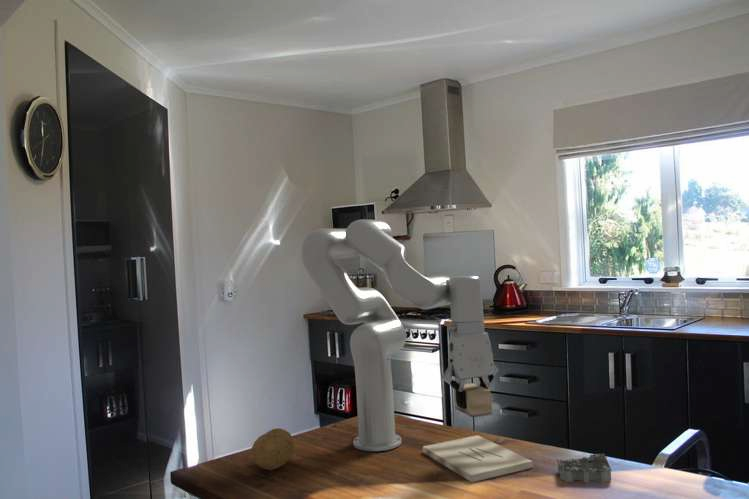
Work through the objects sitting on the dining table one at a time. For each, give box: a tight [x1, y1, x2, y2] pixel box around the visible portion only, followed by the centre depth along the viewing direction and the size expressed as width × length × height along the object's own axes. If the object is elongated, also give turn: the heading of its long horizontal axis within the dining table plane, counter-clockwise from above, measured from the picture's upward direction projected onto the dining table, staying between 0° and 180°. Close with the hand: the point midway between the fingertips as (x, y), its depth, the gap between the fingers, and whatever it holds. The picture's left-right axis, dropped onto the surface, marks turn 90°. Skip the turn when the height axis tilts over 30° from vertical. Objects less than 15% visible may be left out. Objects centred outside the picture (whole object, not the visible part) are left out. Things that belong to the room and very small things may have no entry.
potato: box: [251, 428, 296, 471], centre depth 141 cm, size 10×14×8 cm
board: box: [422, 434, 534, 483], centre depth 138 cm, size 22×16×2 cm
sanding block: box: [453, 382, 493, 418], centre depth 138 cm, size 9×5×6 cm, turn 18°
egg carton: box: [556, 453, 613, 484], centre depth 125 cm, size 11×8×4 cm
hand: (472, 404), depth 138 cm, fingers closed on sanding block, 5 cm apart
